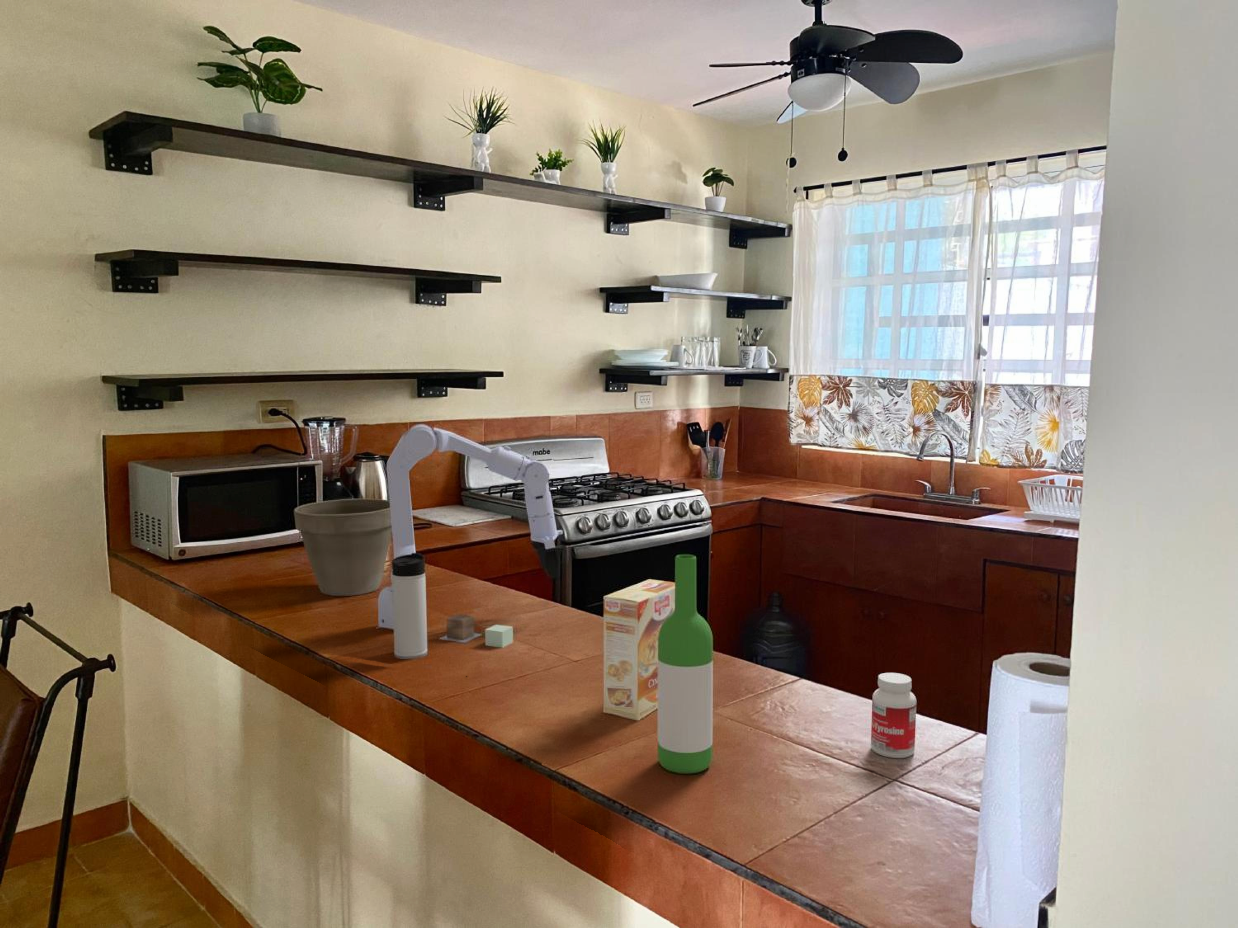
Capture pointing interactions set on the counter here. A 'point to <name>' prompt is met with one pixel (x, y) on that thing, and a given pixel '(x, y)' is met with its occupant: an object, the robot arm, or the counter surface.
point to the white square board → (461, 640)
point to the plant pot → (346, 543)
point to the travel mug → (409, 606)
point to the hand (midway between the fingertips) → (551, 574)
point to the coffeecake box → (634, 646)
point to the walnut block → (460, 627)
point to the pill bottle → (893, 716)
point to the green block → (499, 636)
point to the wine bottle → (685, 679)
